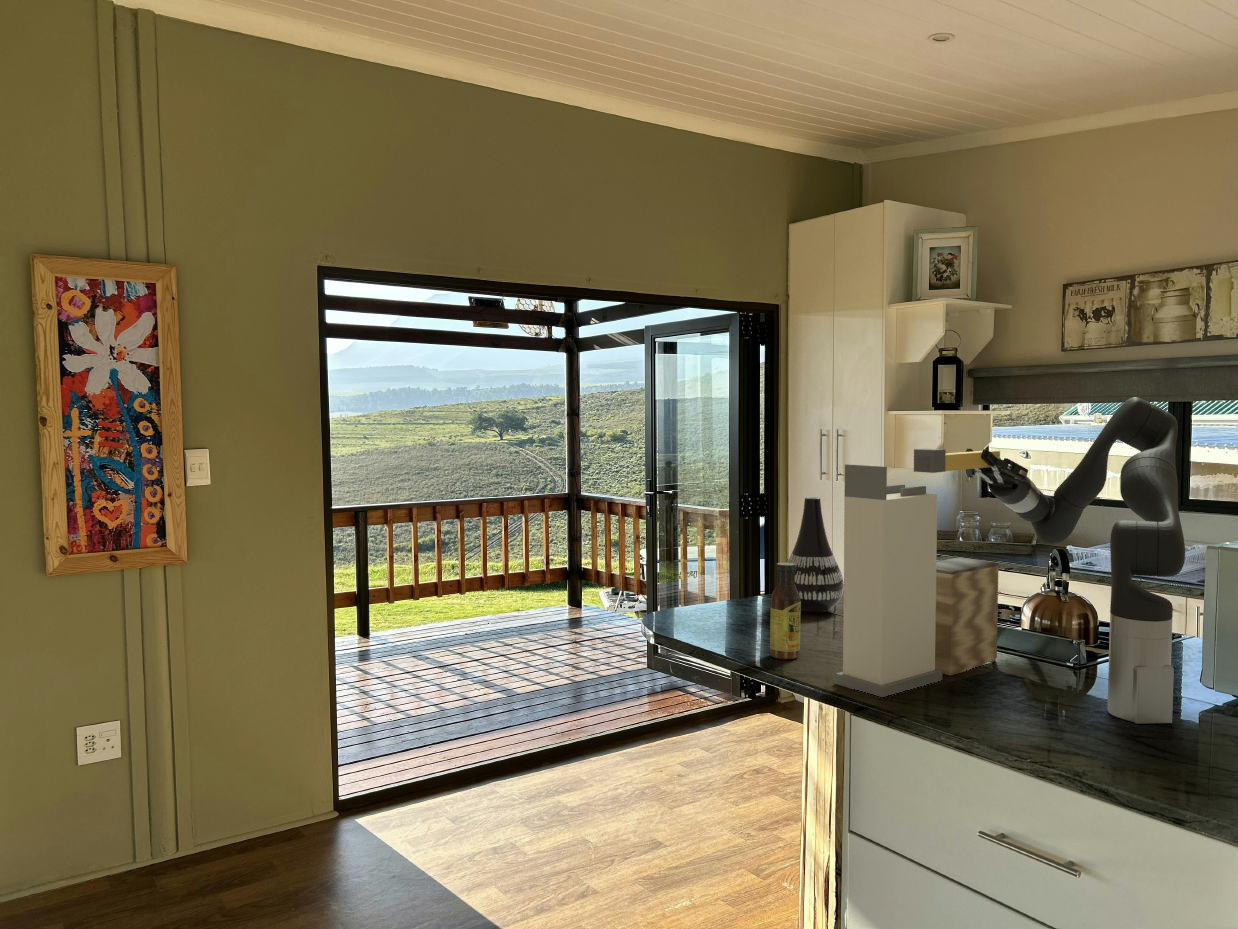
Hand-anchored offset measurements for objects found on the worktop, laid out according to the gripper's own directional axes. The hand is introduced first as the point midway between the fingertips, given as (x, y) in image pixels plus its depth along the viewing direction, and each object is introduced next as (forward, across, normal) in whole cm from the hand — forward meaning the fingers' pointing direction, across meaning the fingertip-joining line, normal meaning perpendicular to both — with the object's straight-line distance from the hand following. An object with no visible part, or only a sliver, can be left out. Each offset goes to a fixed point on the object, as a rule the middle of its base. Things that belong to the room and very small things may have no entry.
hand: (975, 452), depth 191 cm
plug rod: (+3, 0, +5) cm, 6 cm away
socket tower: (+2, 0, +51) cm, 51 cm away
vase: (-28, -50, +34) cm, 67 cm away
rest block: (-16, 0, +41) cm, 44 cm away
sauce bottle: (+5, -25, +52) cm, 58 cm away
